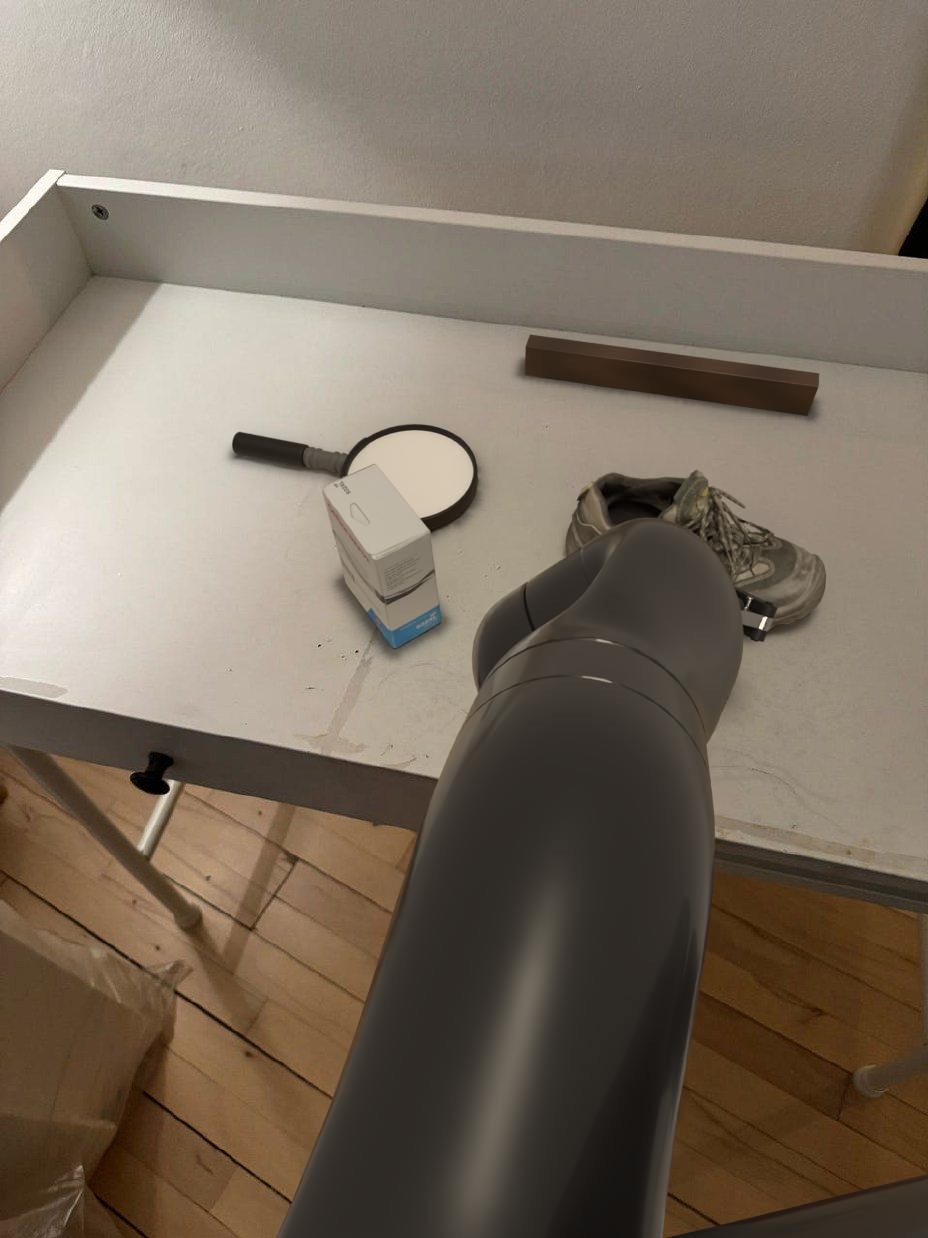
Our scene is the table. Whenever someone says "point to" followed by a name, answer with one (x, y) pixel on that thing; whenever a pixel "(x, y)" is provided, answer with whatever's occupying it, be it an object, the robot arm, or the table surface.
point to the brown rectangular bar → (671, 374)
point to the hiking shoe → (706, 535)
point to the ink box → (384, 554)
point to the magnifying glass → (391, 465)
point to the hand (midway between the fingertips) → (694, 582)
